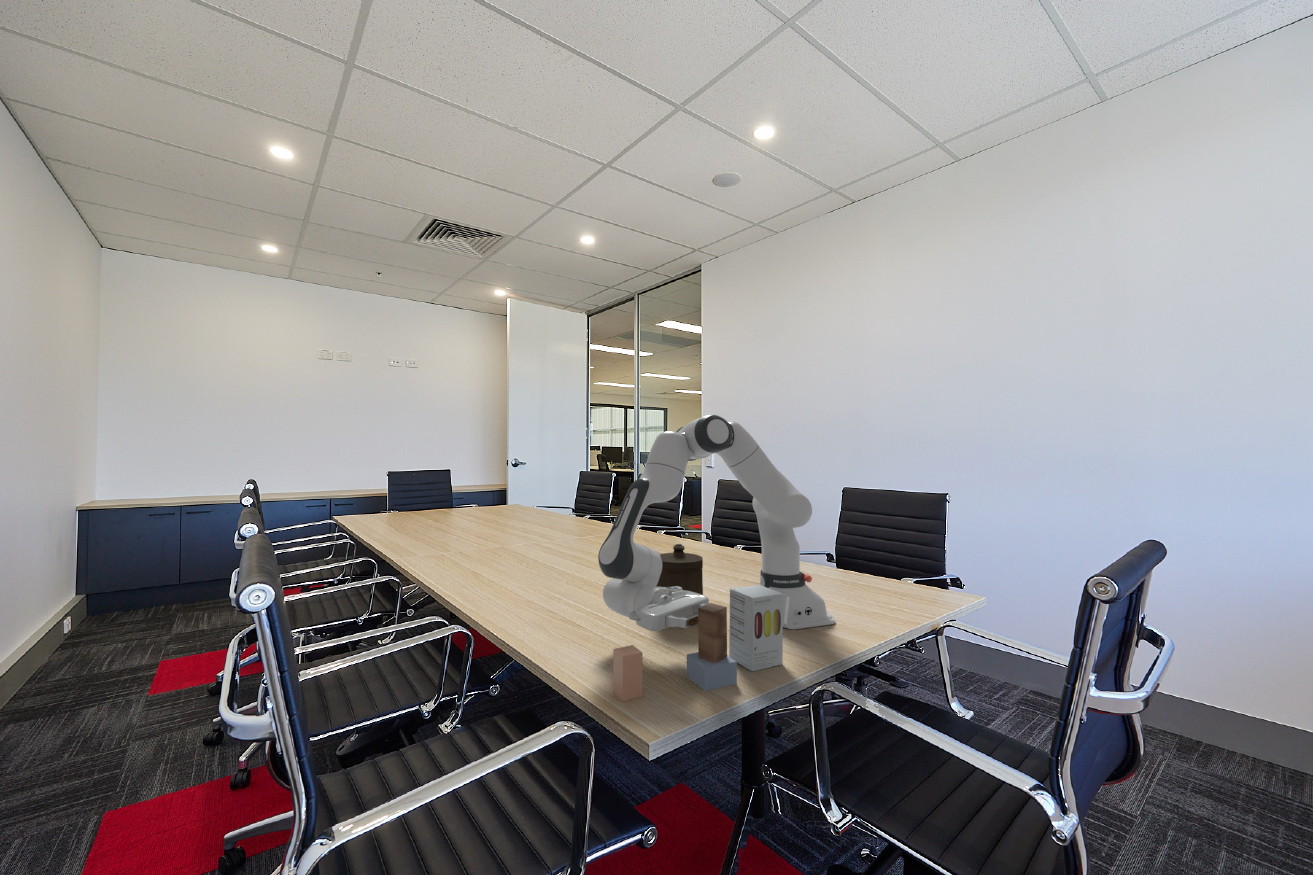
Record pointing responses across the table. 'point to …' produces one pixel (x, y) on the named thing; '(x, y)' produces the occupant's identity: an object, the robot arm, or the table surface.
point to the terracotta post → (627, 673)
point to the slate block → (711, 672)
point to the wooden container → (682, 572)
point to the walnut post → (712, 632)
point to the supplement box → (756, 627)
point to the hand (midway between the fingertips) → (700, 618)
